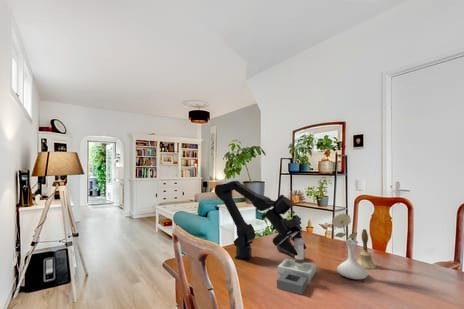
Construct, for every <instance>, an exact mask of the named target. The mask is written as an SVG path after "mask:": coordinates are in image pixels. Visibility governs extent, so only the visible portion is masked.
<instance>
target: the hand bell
mask: <svg viewBox="0 0 464 309" xmlns="http://www.w3.org/2000/svg"><path fill="white" fill-rule="evenodd" d="M368 240H369V234H368V232H367V229H364V228H363V229H362V232H361V242H362V247H363V248H362V249H363V250H362V251H360V252H359V257H358V260H356V261H357V263H359V264H360V265H361V266H362V267H363V268H364V269H365V270H375V269H377V265H376V264H375V263H374V261H373V258H372V254H371V253H370V252H369V251H368Z"/></svg>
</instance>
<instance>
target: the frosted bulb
mask: <svg viewBox="0 0 464 309" xmlns="http://www.w3.org/2000/svg"><path fill="white" fill-rule="evenodd" d="M293 242H294V246H295V250H296V251H297V253H298V255H297V256H295V258H294V260H295V269H297V270H302V271H304V261H305V260H304V259H305V257H304V250H305V249H304V243H305V239H304V238H303V237H302V238H295V239H294V241H293Z"/></svg>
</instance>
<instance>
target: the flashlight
mask: <svg viewBox="0 0 464 309" xmlns="http://www.w3.org/2000/svg"><path fill="white" fill-rule="evenodd" d="M293 247H294V248H295V245H293ZM276 249H277V251H279V252H281V253H284V254H288V255H289V257H290V256H291V257H292V258H294V259H295V255H294V254H292V253H290V252H288V251H287V250H285V249H283V248H281V247H278V245H277V246H276ZM305 257H306V249H304V258H305Z"/></svg>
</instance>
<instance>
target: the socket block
mask: <svg viewBox="0 0 464 309" xmlns="http://www.w3.org/2000/svg"><path fill="white" fill-rule="evenodd" d="M308 285H309V281H308V276H305V275H301V274H297V273H293V272H288V271H284V272H283V274H282V275H281V274H280V276H279V277H278V278H277V279H276V289H279V290H282V291H286V292H289V293H293V294H297V295H300V296H302V295H303V294H304V292H305V290H306V288H307V287H308Z"/></svg>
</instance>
